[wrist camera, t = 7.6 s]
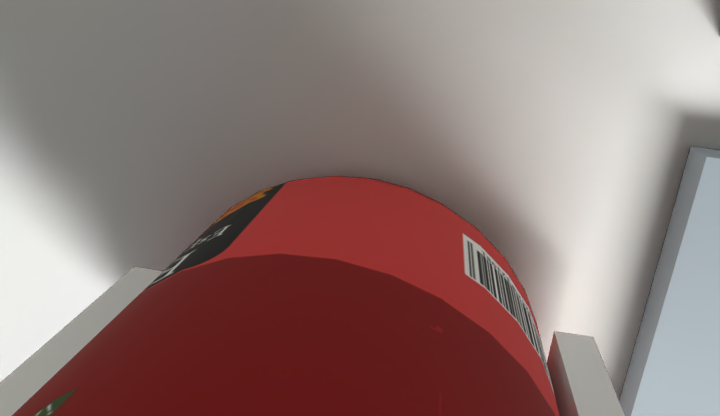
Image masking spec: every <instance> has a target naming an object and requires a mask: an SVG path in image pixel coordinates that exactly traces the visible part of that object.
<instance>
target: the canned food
mask: <svg viewBox="0 0 720 416" xmlns="http://www.w3.org/2000/svg"><path fill="white" fill-rule="evenodd" d="M12 416H560V414H559V410H558V406H557V402H556V398H555V394H554V390H553V386H552V382H551V378H550V374H549V370H548V367H547V363H546V359H545V355H544V351H543V347H542V343H541V339H540V335H539V331H538V327H537V323H536V320H535V317H534V315H533V312H532V309H531V306H530V304H529V301H528V298H527V295H526V293H525V290H524V288H523V286H522V285H521V283H520V282H519V280H518V278H517V277H516V275H515V274H514V272H513V270H512V269H511V267H510V266H509V264H508V262H507V261H506V259H505V258H504V257H503V256H502V255H501V254H500V253H499V251H498V250H497V249H496V248H495V247H494V246H493V245H492V244H491V243H490V242H489V241H488V240H487V239H486V238H485V237H484V236H483V235H482V233H481V232H480V231H479V230H477V229H476V228H475V227H473V226H472V225H470V224H469V223H468V222H466V221H465V220H464V219H462V218H461V217H459V216H458V215H457V214H455V213H454V212H452V211H451V210H450V209H448V208H447V207H445V206H444V205H442V204H441V203H439V202H437V201H435V200H433V199H430V198H428V197H426V196H424V195H422V194H420V193H418V192H416V191H414V190H412V189H409V188H406V187H402V186H399V185H395V184H391V183H388V182H384V181H380V180H377V179H368V178H356V177H344V176H329V177H320V178H310V179H301V180H294V181H290V182H287V183H284V184H281V185H278V186H275V187H271V188H268V189H265V190H262V191H259V192H258V193H256V194H254V195H252V196H251V197H249V198H247V199H245V200H244V201H242V202H240V203H238V204H237V205H235V206H233V207H231V208H230V209H229V210H228V211H227V212H226V213H225V214H224V215H222V216H221V217H220V218H219V219H218V220H217V221H216V222H215V223H214V224H213V225H212V226H210V227H209V228H208V229H207V230H206V231H205V232H204V233H203V234H202V235H201V236H200V237H199V238H198V239H197V240H196V241H195V242H194V243H193V244H191V245H190V246H189V247H188V248H187V249H186V250H185V251H184V252H183V253H182V254H181V255H180V256H179V257H178V258H177V259H176V260H175V261H174V262H173V263H172V264H170V265H169V266H168V267H167V268H166V269H165V270H164V271H163V272H162V273H161V274H160V275H159V276H158V277H157V278H156V279H155V280H154V281H153V282H152V283H151V284H149V285H148V286H147V287H146V288H145V289H144V290H143V291H142V292H141V293H140V294H139V295H138V296H137V297H136V298H135V299H134V300H133V301H132V302H131V303H130V304H128V305H127V306H126V307H125V308H124V309H123V310H122V311H121V312H120V313H119V314H118V315H117V316H116V317H115V318H114V319H113V320H112V321H111V322H110V323H109V324H107V325H106V326H105V327H104V328H103V329H102V330H101V331H100V332H99V333H98V334H97V335H96V336H95V337H94V338H93V339H92V340H91V341H90V342H89V343H87V344H86V345H85V346H84V347H83V348H82V349H81V350H80V351H79V352H78V353H77V354H76V355H75V356H74V357H73V358H72V359H71V360H70V361H69V362H68V363H66V364H65V365H64V366H63V367H62V368H61V369H60V370H59V371H58V372H57V373H56V374H55V375H54V376H53V377H52V378H51V379H50V380H49V381H48V382H47V383H45V384H44V385H43V386H42V387H41V388H40V389H39V390H38V391H37V392H36V393H35V394H34V395H33V396H32V397H31V398H30V399H29V400H28V401H27V402H26V403H24V404H23V405H22V406H21V407H20V408H19V409H18V410H17V411H16V412H15V413H14V414H13V415H12Z"/></svg>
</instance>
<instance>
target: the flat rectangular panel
mask: <svg viewBox="0 0 720 416" xmlns="http://www.w3.org/2000/svg"><path fill="white" fill-rule="evenodd" d="M619 402H620V405H621V407H622V410H623V413H624V415H625V416H720V150H716V149H708V148H699V147H691V148H690V152H689V155H688V159H687V162H686V166H685V169H684V173H683V176H682V180H681V183H680V187H679V191H678V194H677V198H676V201H675V205H674V208H673V212H672V215H671V219H670V222H669V226H668V230H667V233H666V237H665V240H664V244H663V247H662V251H661V254H660V258H659V261H658V265H657V269H656V272H655V276H654V279H653V283H652V286H651V290H650V293H649V297H648V300H647V304H646V307H645V311H644V315H643V318H642V322H641V325H640V329H639V332H638V336H637V339H636V343H635V346H634V350H633V354H632V357H631V361H630V364H629V368H628V371H627V375H626V378H625V382H624V385H623V389H622V393H621V396H620V400H619Z"/></svg>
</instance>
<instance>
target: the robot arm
mask: <svg viewBox="0 0 720 416" xmlns="http://www.w3.org/2000/svg"><path fill="white" fill-rule="evenodd" d="M162 272H163V271H158V270H152V269H145V268H139V267H133V268H132V269H131V270H130V271H129V272H128V273H126V274H125V275H124V276H123V277H122V278H121V279H119V280H118V281H117V282H116V283H115V284H114V285H113V286H111V287H110V288H109V289H108V290H107V291H106V292H104V293H103V294H102V295H101V296H100V297H99V298H98V299H96V300H95V301H94V302H93V303H92V304H91V305H89V306H88V307H87V308H86V309H85V310H84V311H83V312H81V313H80V314H79V315H78V316H77V317H76V318H74V319H73V320H72V321H71V322H70V323H69V324H67V325H66V326H65V327H64V328H63V329H62V330H61V331H59V332H58V333H57V334H56V335H55V336H54V337H52V338H51V339H50V340H49V341H48V342H47V343H46V344H44V345H43V346H42V347H41V348H40V349H39V350H37V351H36V352H35V353H34V354H33V355H32V356H31V357H29V358H28V359H27V360H26V361H25V362H24V363H22V364H21V365H20V366H19V367H18V368H17V369H16V370H14V371H13V372H12V373H11V374H10V375H9V376H7V377H6V378H5V379H4V380H3V381H2V382H1V383H0V416H12V415H13V414H14V413H15V412H16V411H17V410H18V409H19V408H20V407H21V406H22V405H23V404H24V403H26V402H27V401H28V400H29V399H30V398H31V397H32V396H33V395H34V394H35V393H36V392H37V391H38V390H39V389H40V388H41V387H42V386H43V385H44V384H45V383H47V382H48V381H49V380H50V379H51V378H52V377H53V376H54V375H55V374H56V373H57V372H58V371H59V370H60V369H61V368H62V367H63V366H64V365H65V364H66V363H68V362H69V361H70V360H71V359H72V358H73V357H74V356H75V355H76V354H77V353H78V352H79V351H80V350H81V349H82V348H83V347H84V346H85V345H86V344H87V343H89V342H90V341H91V340H92V339H93V338H94V337H95V336H96V335H97V334H98V333H99V332H100V331H101V330H102V329H103V328H104V327H105V326H106V325H107V324H109V323H110V322H111V321H112V320H113V319H114V318H115V317H116V316H117V315H118V314H119V313H120V312H121V311H122V310H123V309H124V308H125V307H126V306H127V305H128V304H130V303H131V302H132V301H133V300H134V299H135V298H136V297H137V296H138V295H139V294H140V293H141V292H142V291H143V290H144V289H145V288H146V287H147V286H148V285H149V284H151V283H152V282H153V281H154V280H155V279H156V278H157V277H158V276H159V275H160V274H161V273H162ZM547 367H548V370H549V374H550V378H551V382H552V386H553V390H554V394H555V398H556V402H557V406H558V410H559V414H560V416H625V415H624V413H623V410H622V407H621V405H620V402H619V400H618V397H617V395H616V392H615V390H614V387H613V385H612V382H611V380H610V377H609V375H608V372H607V370H606V367H605V365H604V362H603V360H602V357H601V355H600V352H599V350H598V347H597V345H596V342H595V340H594V337H590V336H583V335H577V334H570V333H564V332H557V331H554V334H553V339H552V343H551V347H550V352H549V356H548V360H547Z"/></svg>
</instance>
